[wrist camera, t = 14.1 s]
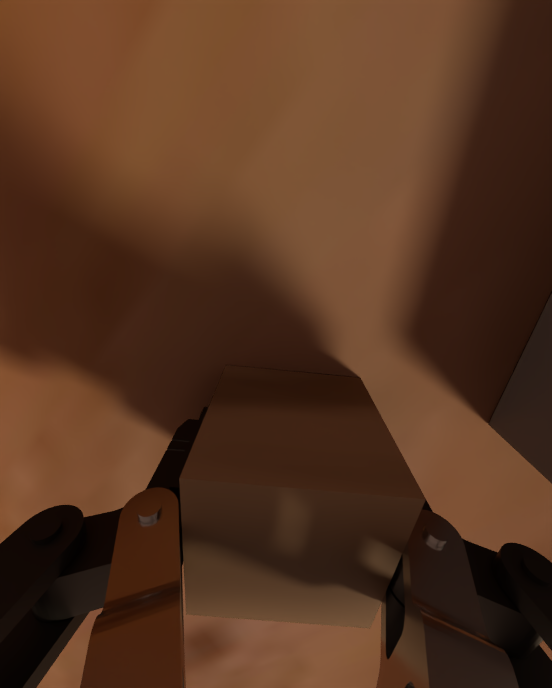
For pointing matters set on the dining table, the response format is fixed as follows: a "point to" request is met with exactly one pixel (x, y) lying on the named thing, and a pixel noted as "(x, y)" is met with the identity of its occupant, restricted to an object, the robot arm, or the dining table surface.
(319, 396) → the walnut cube
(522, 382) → the charcoal tote
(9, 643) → the robot arm
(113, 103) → the dining table surface
